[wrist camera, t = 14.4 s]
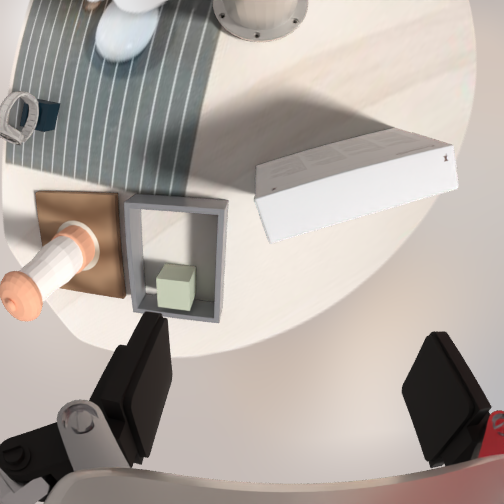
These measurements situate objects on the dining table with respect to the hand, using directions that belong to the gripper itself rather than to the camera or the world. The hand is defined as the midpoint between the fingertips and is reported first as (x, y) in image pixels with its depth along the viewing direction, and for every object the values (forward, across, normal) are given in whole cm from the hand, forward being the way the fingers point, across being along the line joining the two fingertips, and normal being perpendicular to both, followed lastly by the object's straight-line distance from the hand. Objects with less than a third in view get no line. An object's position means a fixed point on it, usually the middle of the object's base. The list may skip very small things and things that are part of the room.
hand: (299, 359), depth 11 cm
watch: (+36, +37, -8) cm, 53 cm away
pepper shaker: (+35, +31, +14) cm, 49 cm away
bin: (+36, +13, +14) cm, 41 cm away
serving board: (+36, +31, +14) cm, 50 cm away
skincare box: (+37, -8, -2) cm, 38 cm away
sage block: (+36, +13, +18) cm, 43 cm away
